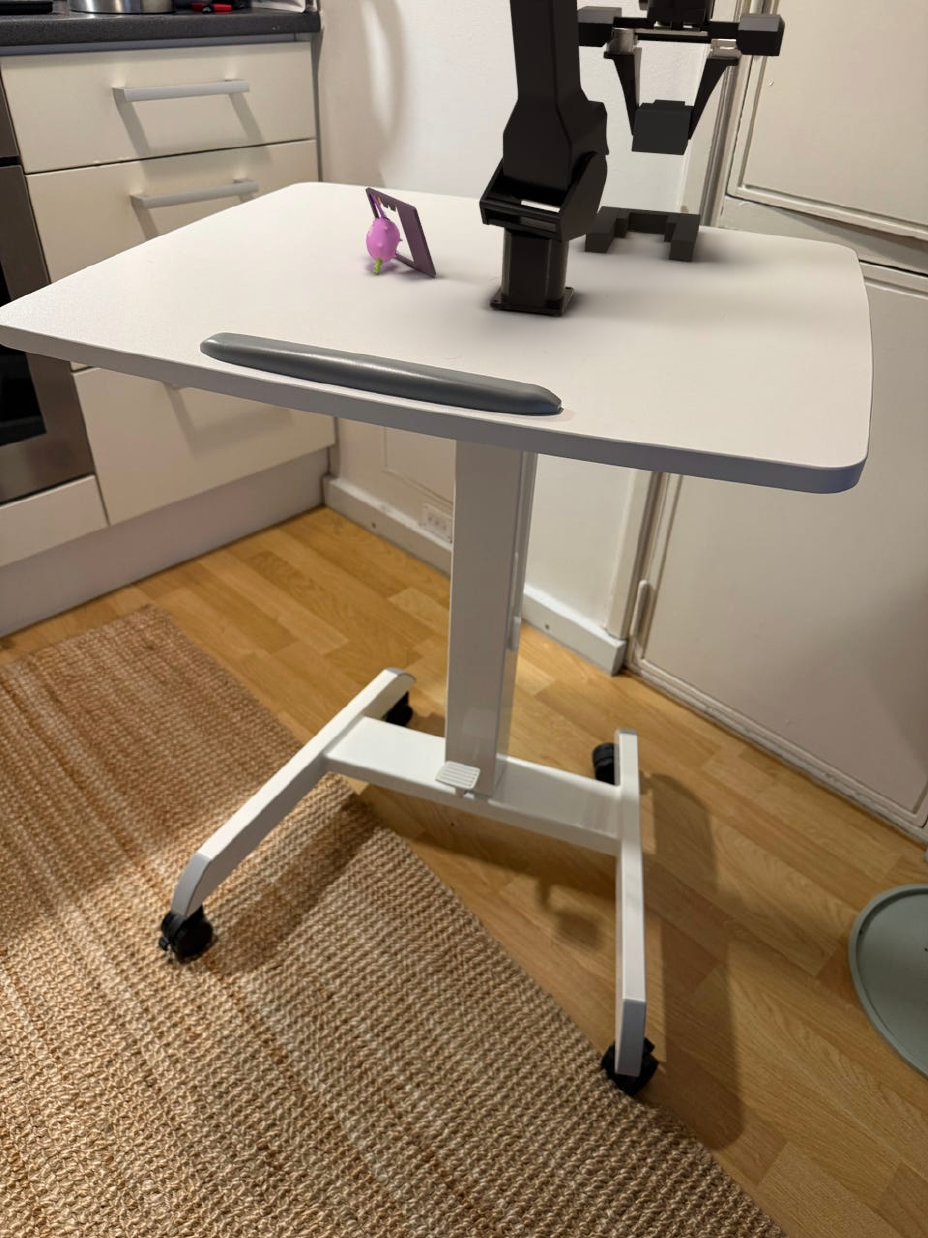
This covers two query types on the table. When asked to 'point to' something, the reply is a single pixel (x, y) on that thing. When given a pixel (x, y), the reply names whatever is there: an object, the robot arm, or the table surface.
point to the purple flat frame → (396, 234)
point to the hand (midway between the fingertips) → (661, 136)
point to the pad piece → (662, 127)
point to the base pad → (645, 229)
